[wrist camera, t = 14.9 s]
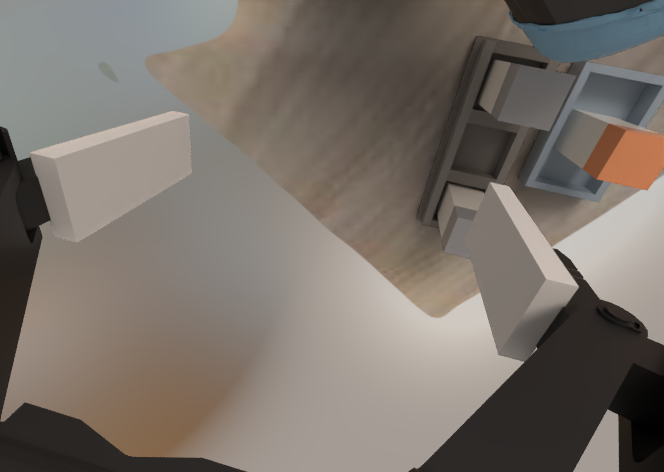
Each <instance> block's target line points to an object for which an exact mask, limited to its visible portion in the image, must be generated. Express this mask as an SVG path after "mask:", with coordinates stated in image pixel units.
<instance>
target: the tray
mask: <svg viewBox="0 0 664 472" xmlns="http://www.w3.org/2000/svg"><path fill="white" fill-rule="evenodd" d="M568 74H571V75H576V78H575V80H574V82H573V84H572V86H571V88H570V90H569V92H568V94H567V96H566V98H565V100H564V102H563V104H562V106H561V108H560V110H559V112H558V114H557V116H556V118H555V120H554V122H553V124H552V126H551V128H550V131H545V130H540V132H539V134H538V136H537V138H536V140H535V143H534V145H533V147H532V149H531V151H530V153H529V155H528V157H527V159H526V161H525V163H524V166H523V168H522V170H521V172H520V174H519V176H518V178H519V179H520V180H521V182H522V183H523V184H524V185H525V186H528V187H532V188H536V189H541V190H545V191H550V192H554V193H559V194H563V195H568V196H572V197H577V198H581V199H586V200H590V201H595V202H599V200H600V199H601V197H602V196H603V194H604V193H605V191H606V189H607V188H608V186H609V185H610V183H611V182H607V181H602V180H598V179H595V178H594V177H593V176H591V175H590V174H589V173H587V172H586V171H584V170H583V169H582V168H580V167H579V166H578V165H576V164H575V163H573V162H572V161H571V160H569V159H568V158H567V157H565V156H564V155H563V154H561V153H560V152H558V151H557V150H556V149H554V148H553V147H554V145H555V143H556V141H557V139H558V137H559V135H560V134H561V132H562V130H563V128H564V126H565V124H566V122H567V120H568V118H569V116H570V114H571V112H572V110H573V109H576V110H581V111H586V112H591V113H596V114H601V115H606V116H611V117H615V118H618V119H621V120H623V121H626V122H629V123H632V124H634V125H637V126H640V127H643V128H646V127H647V125H648V124H649V122H650V120H651V119H652V117H653V116H654V114H655V113H656V111H657V109H658V108H659V106H660V105H661V103H662V102H663V100H664V76H660V75H655V74H650V73H644V72H639V71H634V70H629V69H623V68H618V67H613V66H608V65H603V64H597V63H592V62H587V61H582V62H573V63H572V65H571V68H570V70H569V72H568Z"/></svg>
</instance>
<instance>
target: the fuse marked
mask: <svg viewBox="0 0 664 472" xmlns="http://www.w3.org/2000/svg"><path fill="white" fill-rule="evenodd" d="M553 148H554V149H556V150H557V151H558V152H560V153H561V154H563V155H564V156H565V157H567V158H568V159H569V160H571V161H572V162H573V163H575V164H576V165H578V166H579V167H580V168H582V169H583V170H584V171H586V172H587V173H589V174H590V175H591V176H593V177H594V178H595V179H598V180H602V181H607V182H611V183H616V184H620V185H625V186H630V187H634V188H639V189H643V190H648V189H649V187H650V186H651V185H652V183H653V182H654V180H655V179H656V178H657V176H658V175H659V173H660V172H661V170H662V169H663V168H664V135H662V134H659V133H656V132H653V131H651V130H648V129H645V128H643V127H640V126H637V125H634V124H632V123H629V122H626V121H623V120H621V119H618V118H615V117H611V116H606V115H601V114H596V113H591V112H586V111H581V110H576V109H573V110H572V112H571V114H570V116H569V118H568V120H567V122H566V124H565V126H564V128H563V130H562V132H561V134H560V135H559V137H558V139H557V141H556V143H555V145H554V147H553Z"/></svg>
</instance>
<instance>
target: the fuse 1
mask: <svg viewBox="0 0 664 472" xmlns="http://www.w3.org/2000/svg"><path fill="white" fill-rule="evenodd" d="M484 195H485V193H484V191H483V189H481V188H476V187H472V186H468V185H463V184H459V183H454V182H450V181H447V184H446V186H445V189H444V192H443V194H442V197H441V200H440V203H439V205H438V208H437V216H438V222H439V229H440V235H441V241H442V247H443V253H447V254H451V255H455V256H459V257H463V258H467V259H471V257H470V254H469V250H468V247H467V243H466V240H465V238H466V236H467V233H468V231H469V229H470V227H471V224H472V222H473V220H474V217H475V215H476V213H477V211H478V208H479V206H480V204H481V201H482V199H483V197H484Z"/></svg>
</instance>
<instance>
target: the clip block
mask: <svg viewBox="0 0 664 472" xmlns="http://www.w3.org/2000/svg"><path fill="white" fill-rule="evenodd" d="M492 59H494V60H499V61H505V62H510V63H515V64H520V65H525V66H530V67H535V68H540V69H546V70H551V71H556V70H557V68H558V66H559V63H560V62H557V61H554V60H551V59H549V58H548V57H545V56H543V55H541V54H540V53H539V52H538V51H537V49H536V48H535V47H534V46H529V45H524V44H518V43H513V42H508V41H503V40H497V39H492V38H487V37H482V36H476V39H475V42H474V45H473V48H472V51H471V54H470V57H469V60H468V63H467V66H466V69H465V72H464V75H463V78H462V81H461V84H460V87H459V90H458V93H457V96H456V99H455V102H454V105H453V108H452V111H451V114H450V117H449V120H448V123H447V126H446V129H445V132H444V135H443V138H442V141H441V144H440V146H439V149H438V152H437V155H436V158H435V161H434V164H433V167H432V170H431V173H430V176H429V179H428V182H427V185H426V188H425V191H424V194H423V197H422V200H421V203H420V206H419V209H418V212H417V215H416V217H417V219H421V220H422V225H426V226H431V227H435V228H439V222H438V216H437V208H438V205H439V203H440V200H441V197H442V194H443V192H444V189H445V186H446V184H447V181H450V182H454V183H459V184H463V185H468V186H472V187H476V188H481V189H483V191H484V193H485V192H486V190H487V188H488V185H489V183H490V182H492V183H496V184H501V185H504V182H505V180H506V178H507V176H508V174H509V172H510V169H511V167H512V165H513V163H514V161H515V159H516V156H517V154H518V152H519V150H520V148H521V146H522V143H523V141H524V139H525V137H526V135H527V133H528V130H529V128H530V127H526V126H521V125H517V124H512V123H507V122H502V121H498V120H496V119H495V118H494V117H493V116H492V115H491V114H490V113H488V112H487V111H486V110H485V109H484V108H483V107H482V106H480V105H479V104H478V103H477V99H478V96H479V94H480V91H481V88H482V85H483V83H484V80H485V77H486V74H487V72H488V69H489V66H490V64H491V61H492Z"/></svg>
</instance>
